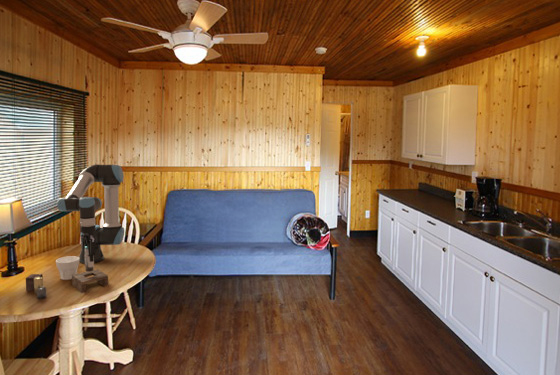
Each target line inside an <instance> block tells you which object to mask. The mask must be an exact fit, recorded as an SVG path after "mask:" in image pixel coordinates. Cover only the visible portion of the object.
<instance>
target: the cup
mask: <svg viewBox="0 0 560 375" xmlns="http://www.w3.org/2000/svg"><path fill="white" fill-rule="evenodd" d="M79 259H80V258H79V256H75V255H72V256H71V255H69V256H68V255H67V256H62V257H59V258H57V259H56V260H55V264H56V269H57V270H58V273H59V277H60V279H61V280H63V281H68V280H72V275H75V274H78V267H79V265H80V262H79Z"/></svg>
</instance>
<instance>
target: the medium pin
mask: <svg viewBox="0 0 560 375" xmlns="http://www.w3.org/2000/svg"><path fill="white" fill-rule="evenodd" d="M40 287H44V278H43V277H36V278H34V294H35V295H37V288H40Z"/></svg>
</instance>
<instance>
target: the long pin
mask: <svg viewBox="0 0 560 375" xmlns="http://www.w3.org/2000/svg"><path fill="white" fill-rule="evenodd" d="M87 255H89V253H88V245H87V246H85V263H84V266H85V272H89V271H93V270H95V268H94V267H88V256H87Z"/></svg>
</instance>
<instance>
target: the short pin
mask: <svg viewBox="0 0 560 375" xmlns="http://www.w3.org/2000/svg"><path fill="white" fill-rule="evenodd" d="M36 298H37V300H44V299H46V298H47V287H46V286H43V287H40V288H37V294H36Z"/></svg>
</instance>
